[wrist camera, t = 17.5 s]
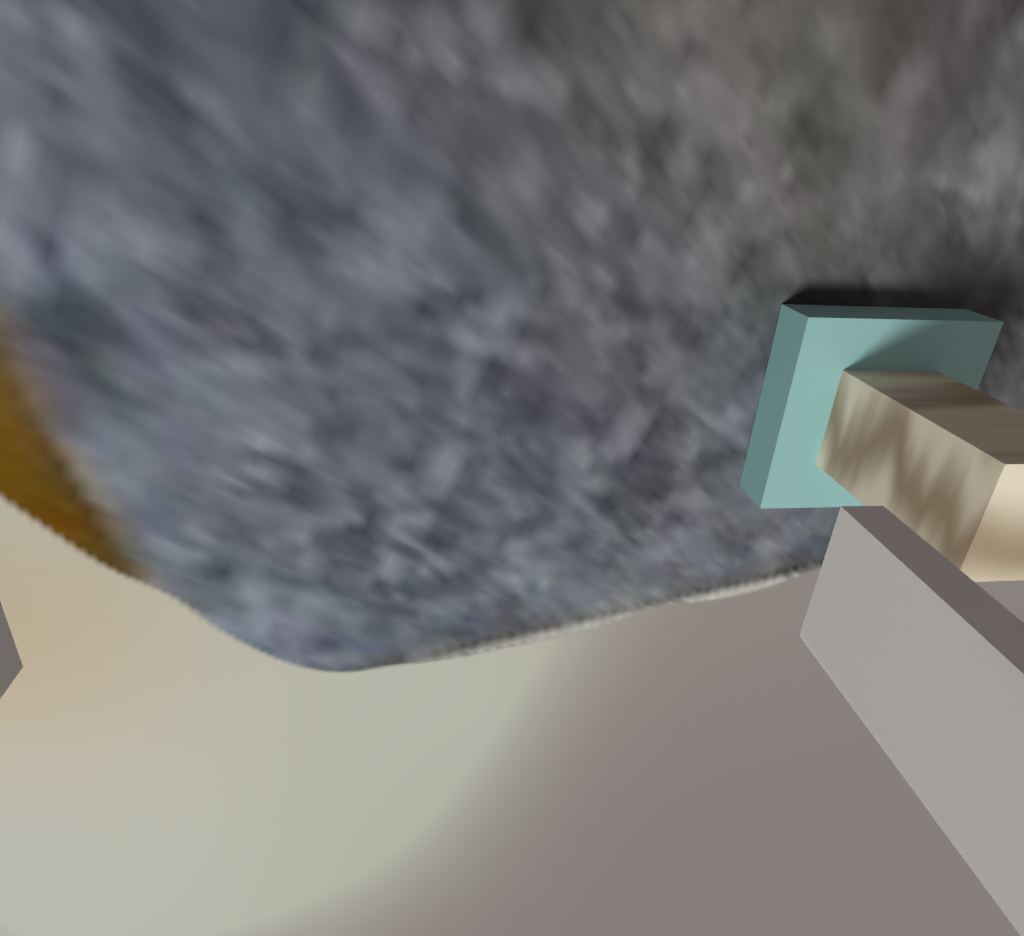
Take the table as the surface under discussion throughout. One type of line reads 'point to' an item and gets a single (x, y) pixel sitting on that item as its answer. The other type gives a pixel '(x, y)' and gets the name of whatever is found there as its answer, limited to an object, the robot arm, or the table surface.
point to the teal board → (816, 375)
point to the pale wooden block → (934, 464)
